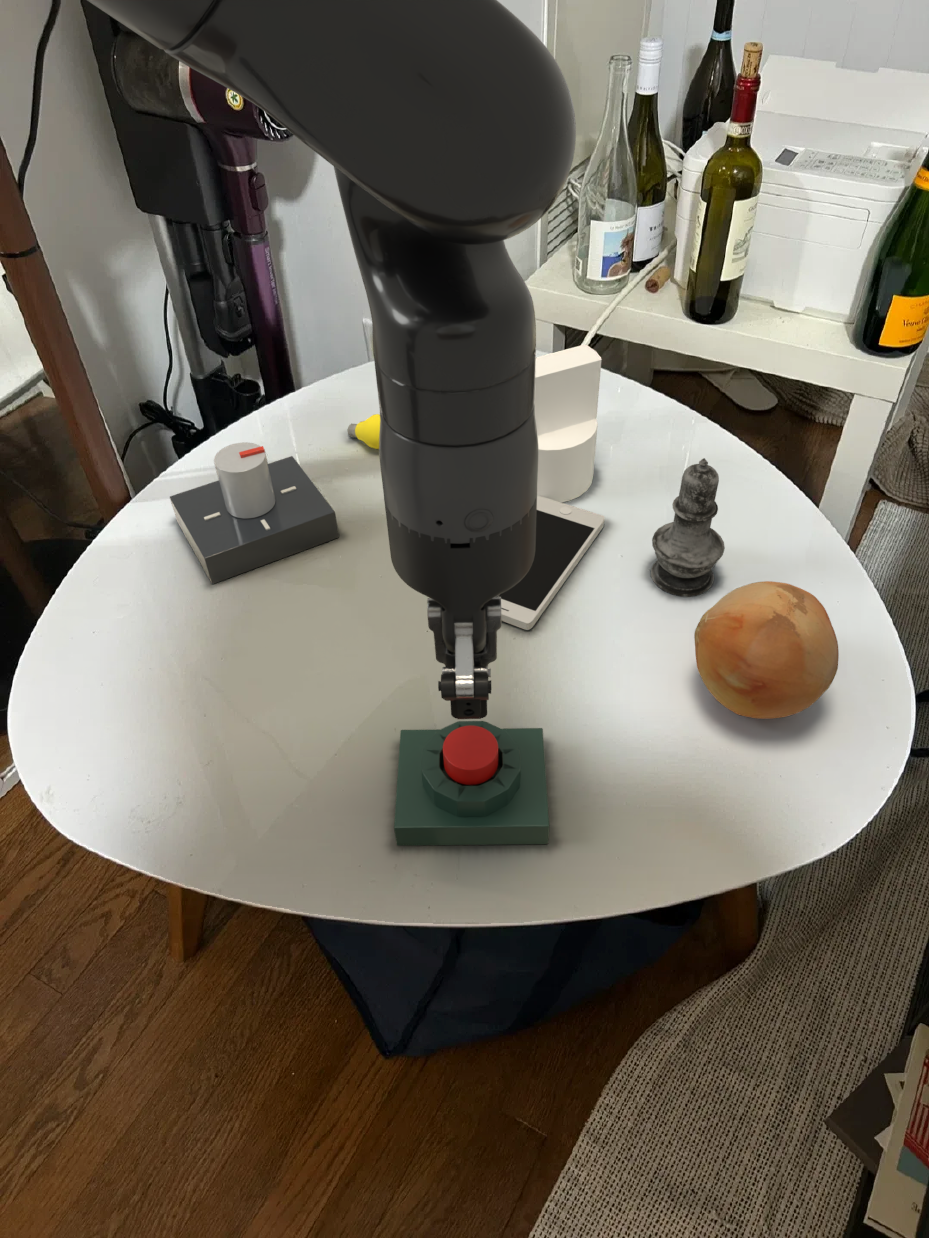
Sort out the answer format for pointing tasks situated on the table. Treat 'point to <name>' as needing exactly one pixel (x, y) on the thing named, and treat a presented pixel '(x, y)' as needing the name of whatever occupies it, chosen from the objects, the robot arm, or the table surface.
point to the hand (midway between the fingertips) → (469, 709)
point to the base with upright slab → (566, 421)
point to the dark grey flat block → (255, 523)
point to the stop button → (470, 755)
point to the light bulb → (367, 431)
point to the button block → (471, 792)
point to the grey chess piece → (689, 536)
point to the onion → (766, 650)
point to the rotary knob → (245, 480)
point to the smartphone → (550, 559)
